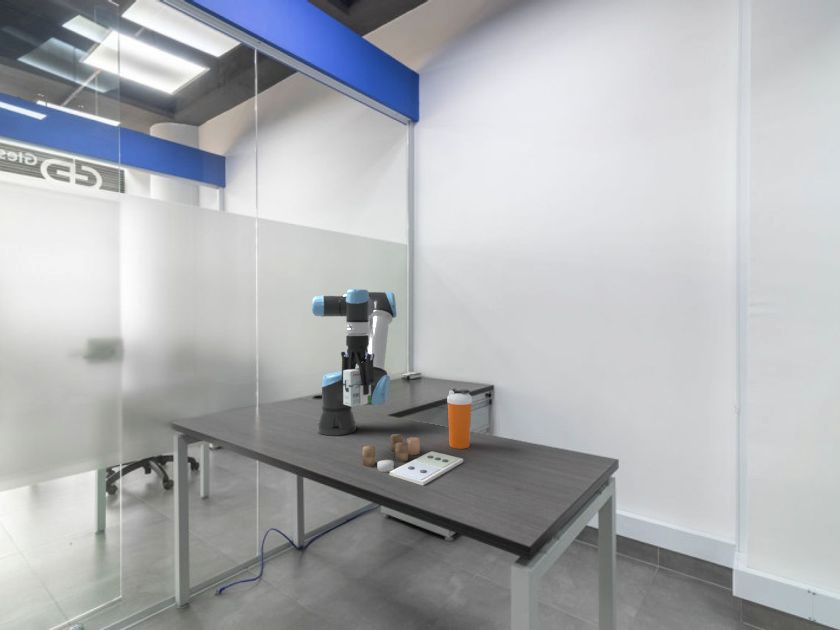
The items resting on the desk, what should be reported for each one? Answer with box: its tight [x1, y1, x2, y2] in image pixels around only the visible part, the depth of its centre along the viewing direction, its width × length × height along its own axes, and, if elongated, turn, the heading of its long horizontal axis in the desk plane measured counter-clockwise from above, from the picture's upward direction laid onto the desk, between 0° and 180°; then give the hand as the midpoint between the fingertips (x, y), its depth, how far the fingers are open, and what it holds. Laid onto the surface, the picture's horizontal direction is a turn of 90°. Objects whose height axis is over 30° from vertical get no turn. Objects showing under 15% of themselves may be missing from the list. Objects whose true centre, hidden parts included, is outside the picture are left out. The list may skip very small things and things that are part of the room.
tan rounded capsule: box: [361, 445, 376, 467], centre depth 130 cm, size 4×4×5 cm
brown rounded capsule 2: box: [394, 441, 409, 463], centre depth 134 cm, size 4×4×5 cm
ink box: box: [343, 367, 371, 407], centre depth 141 cm, size 9×5×12 cm, turn 135°
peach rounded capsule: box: [406, 436, 421, 456], centre depth 140 cm, size 4×4×4 cm
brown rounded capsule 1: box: [390, 433, 403, 453], centre depth 143 cm, size 4×4×5 cm
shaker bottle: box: [446, 388, 473, 450], centre depth 148 cm, size 9×9×20 cm
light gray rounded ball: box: [376, 459, 395, 473], centre depth 126 cm, size 5×5×2 cm
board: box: [389, 450, 464, 486], centre depth 127 cm, size 12×22×1 cm, turn 144°
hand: (357, 402), depth 141 cm, fingers closed on ink box, 5 cm apart
